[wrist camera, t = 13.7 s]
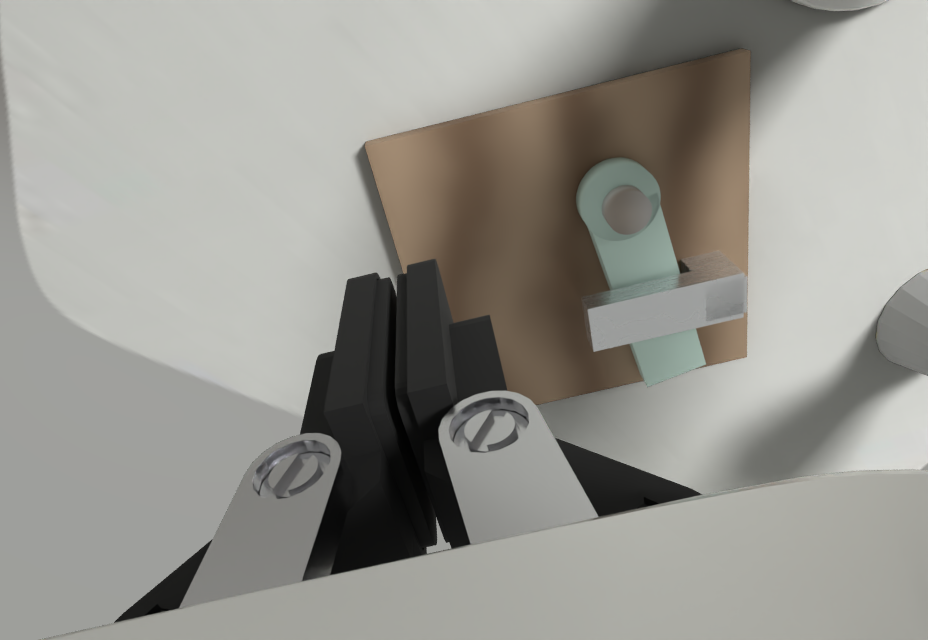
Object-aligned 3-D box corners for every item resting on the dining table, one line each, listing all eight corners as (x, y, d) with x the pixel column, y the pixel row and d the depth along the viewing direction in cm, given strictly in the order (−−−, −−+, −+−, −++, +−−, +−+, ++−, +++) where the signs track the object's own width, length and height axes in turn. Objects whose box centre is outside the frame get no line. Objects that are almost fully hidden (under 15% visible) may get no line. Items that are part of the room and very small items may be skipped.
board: (742, 48, 34) (783, 59, 30) (740, 349, 44) (770, 385, 40) (365, 141, 35) (361, 163, 31) (448, 415, 45) (452, 457, 41)
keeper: (719, 245, 39) (747, 272, 35) (719, 287, 40) (746, 316, 37) (572, 280, 39) (587, 309, 36) (578, 320, 40) (593, 351, 37)
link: (565, 177, 35) (571, 185, 34) (639, 144, 35) (649, 151, 33) (637, 375, 43) (644, 388, 41) (699, 350, 42) (709, 363, 41)
